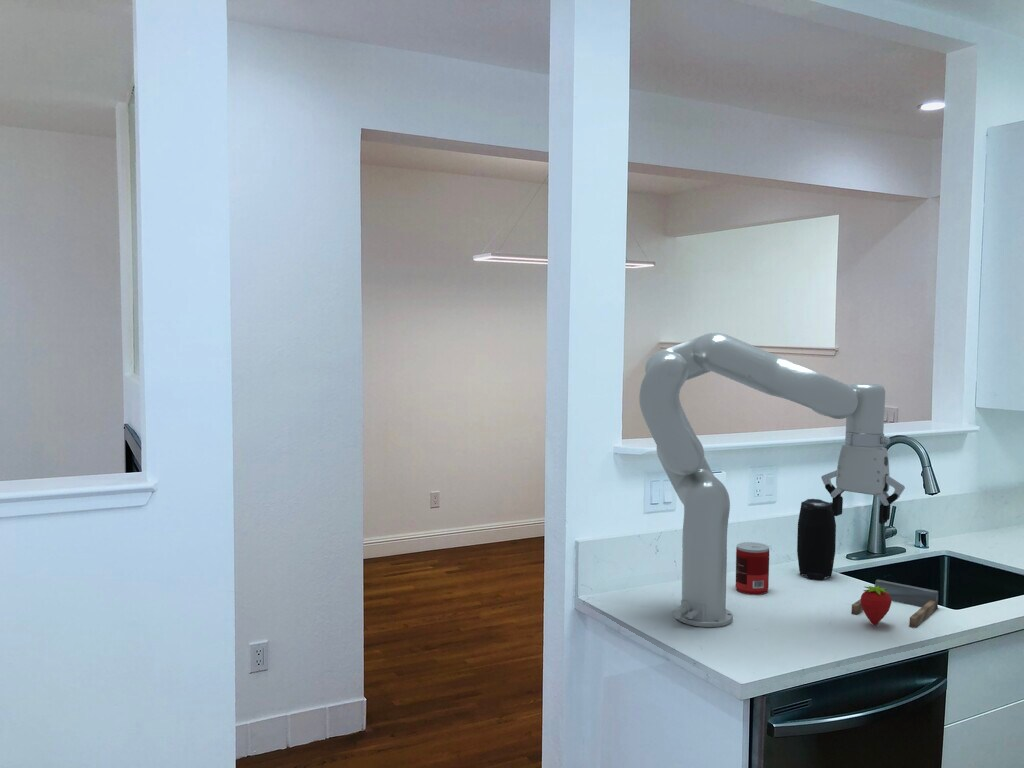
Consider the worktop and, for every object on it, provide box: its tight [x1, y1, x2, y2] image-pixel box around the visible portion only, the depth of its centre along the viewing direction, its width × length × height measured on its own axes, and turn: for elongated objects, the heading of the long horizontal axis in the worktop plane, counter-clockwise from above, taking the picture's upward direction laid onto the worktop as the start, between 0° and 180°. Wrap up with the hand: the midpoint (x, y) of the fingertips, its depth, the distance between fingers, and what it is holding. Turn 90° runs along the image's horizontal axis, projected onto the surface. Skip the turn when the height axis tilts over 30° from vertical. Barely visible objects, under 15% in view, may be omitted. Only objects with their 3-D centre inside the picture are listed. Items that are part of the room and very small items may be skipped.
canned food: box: [735, 541, 770, 596], centre depth 202 cm, size 8×8×11 cm
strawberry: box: [859, 582, 893, 626], centre depth 178 cm, size 6×8×10 cm
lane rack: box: [851, 579, 939, 629], centre depth 187 cm, size 17×13×4 cm
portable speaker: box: [796, 498, 837, 581], centre depth 214 cm, size 9×9×20 cm
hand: (860, 518), depth 179 cm, fingers open, 9 cm apart
